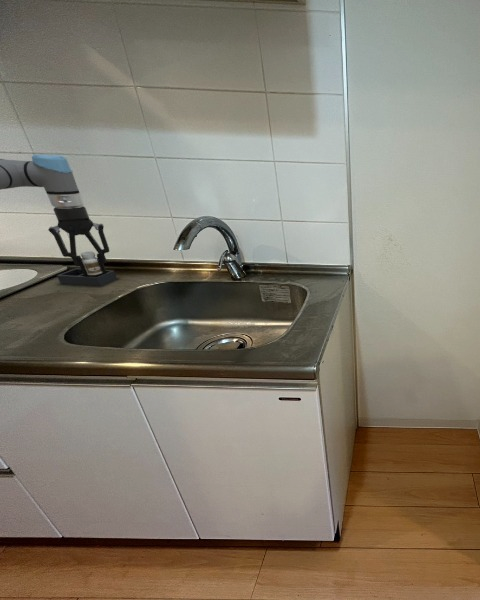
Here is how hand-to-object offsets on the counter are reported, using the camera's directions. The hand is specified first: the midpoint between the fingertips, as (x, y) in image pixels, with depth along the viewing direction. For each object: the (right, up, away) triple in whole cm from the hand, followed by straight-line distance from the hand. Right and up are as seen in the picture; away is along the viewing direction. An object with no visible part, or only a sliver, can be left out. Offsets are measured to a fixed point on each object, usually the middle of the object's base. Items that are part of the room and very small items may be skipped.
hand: (95, 272), depth 111 cm
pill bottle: (0, 0, 0) cm, 1 cm away
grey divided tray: (-4, -3, +2) cm, 5 cm away
